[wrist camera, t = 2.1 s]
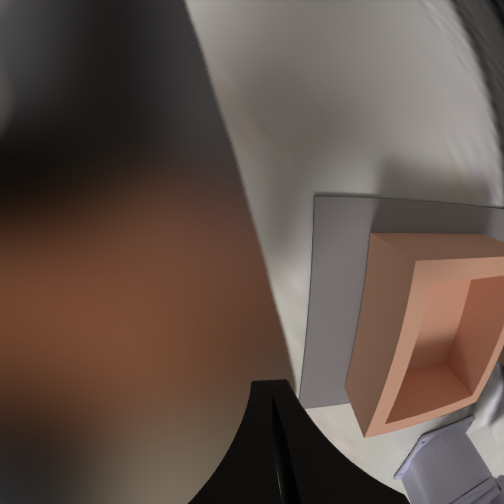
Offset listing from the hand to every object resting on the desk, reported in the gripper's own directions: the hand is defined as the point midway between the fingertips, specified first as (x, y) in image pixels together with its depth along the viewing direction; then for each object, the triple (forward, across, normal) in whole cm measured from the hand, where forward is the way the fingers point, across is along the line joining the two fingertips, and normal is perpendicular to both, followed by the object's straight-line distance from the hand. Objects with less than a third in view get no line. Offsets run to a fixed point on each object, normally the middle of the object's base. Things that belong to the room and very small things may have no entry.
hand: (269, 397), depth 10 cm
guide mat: (+6, -15, 0) cm, 16 cm away
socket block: (+5, -10, 0) cm, 11 cm away
